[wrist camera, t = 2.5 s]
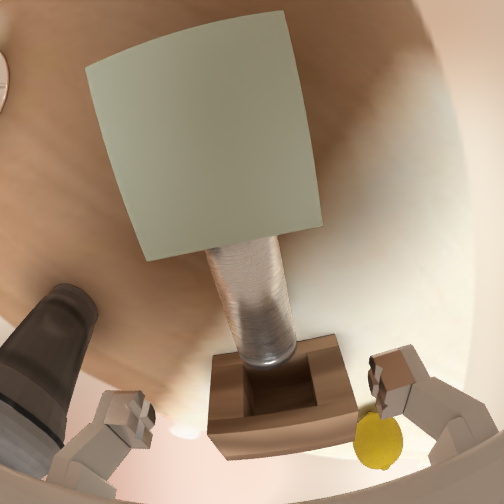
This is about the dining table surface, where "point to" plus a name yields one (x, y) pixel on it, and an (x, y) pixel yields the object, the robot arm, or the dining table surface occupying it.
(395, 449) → the lemon
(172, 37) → the sage green block
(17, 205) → the dining table surface
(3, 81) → the wineglass
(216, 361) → the socket
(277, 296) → the tube
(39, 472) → the beverage cup
